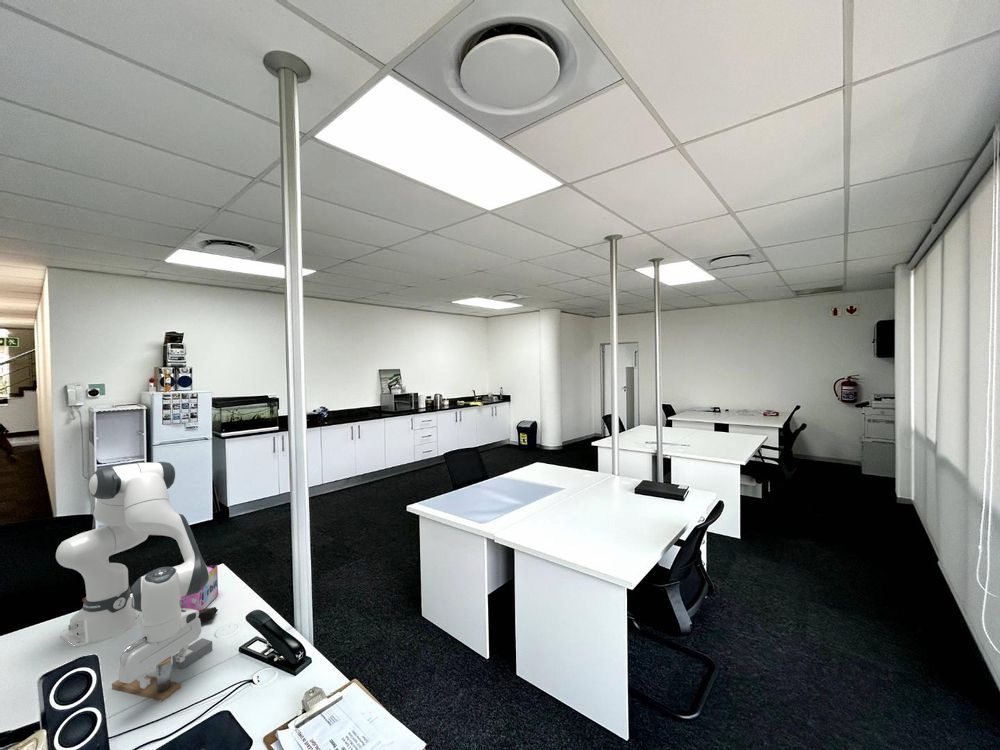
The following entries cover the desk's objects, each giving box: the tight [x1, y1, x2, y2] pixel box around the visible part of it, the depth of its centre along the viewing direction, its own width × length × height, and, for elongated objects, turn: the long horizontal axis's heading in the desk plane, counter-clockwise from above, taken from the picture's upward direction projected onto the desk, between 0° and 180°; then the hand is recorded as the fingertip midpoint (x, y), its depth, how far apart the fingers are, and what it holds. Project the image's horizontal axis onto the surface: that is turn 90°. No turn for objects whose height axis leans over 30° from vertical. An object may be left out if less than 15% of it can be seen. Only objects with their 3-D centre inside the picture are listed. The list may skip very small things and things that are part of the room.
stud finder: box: [172, 637, 213, 670], centre depth 130 cm, size 5×9×4 cm, turn 160°
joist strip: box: [111, 674, 182, 702], centre depth 117 cm, size 20×5×2 cm, turn 75°
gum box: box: [179, 564, 219, 611], centre depth 156 cm, size 22×7×13 cm, turn 10°
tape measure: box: [198, 606, 219, 623], centre depth 150 cm, size 7×7×4 cm
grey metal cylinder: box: [155, 656, 172, 693], centre depth 115 cm, size 3×3×9 cm
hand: (163, 673), depth 115 cm, fingers open, 8 cm apart
